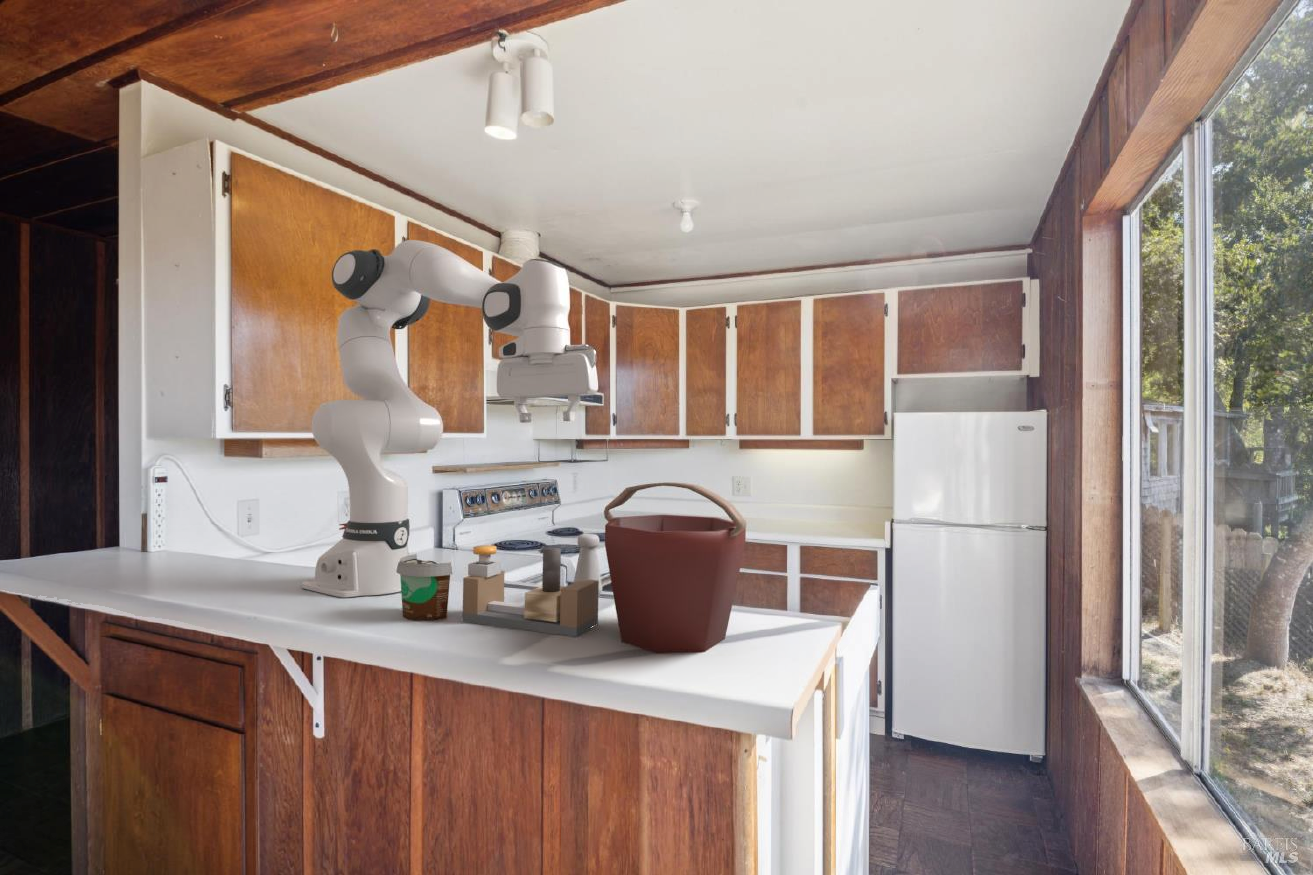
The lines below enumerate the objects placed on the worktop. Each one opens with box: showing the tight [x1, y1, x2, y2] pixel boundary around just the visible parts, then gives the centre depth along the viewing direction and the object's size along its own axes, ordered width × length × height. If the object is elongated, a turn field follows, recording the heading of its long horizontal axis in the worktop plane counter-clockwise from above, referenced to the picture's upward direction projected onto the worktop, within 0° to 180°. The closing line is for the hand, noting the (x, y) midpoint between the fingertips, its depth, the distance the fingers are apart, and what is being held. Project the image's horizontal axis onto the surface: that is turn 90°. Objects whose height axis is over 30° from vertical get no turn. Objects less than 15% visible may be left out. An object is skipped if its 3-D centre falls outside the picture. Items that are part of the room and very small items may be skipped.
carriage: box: [524, 547, 567, 622], centre depth 111 cm, size 6×7×11 cm
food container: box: [396, 553, 453, 622], centre depth 114 cm, size 12×6×10 cm, turn 50°
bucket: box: [603, 481, 747, 654], centre depth 106 cm, size 24×22×25 cm
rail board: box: [462, 560, 599, 638], centre depth 112 cm, size 22×8×10 cm, turn 70°
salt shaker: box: [573, 533, 603, 599], centre depth 128 cm, size 6×6×13 cm
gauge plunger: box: [472, 544, 497, 565], centre depth 115 cm, size 4×4×3 cm
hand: (546, 421), depth 120 cm, fingers open, 8 cm apart
